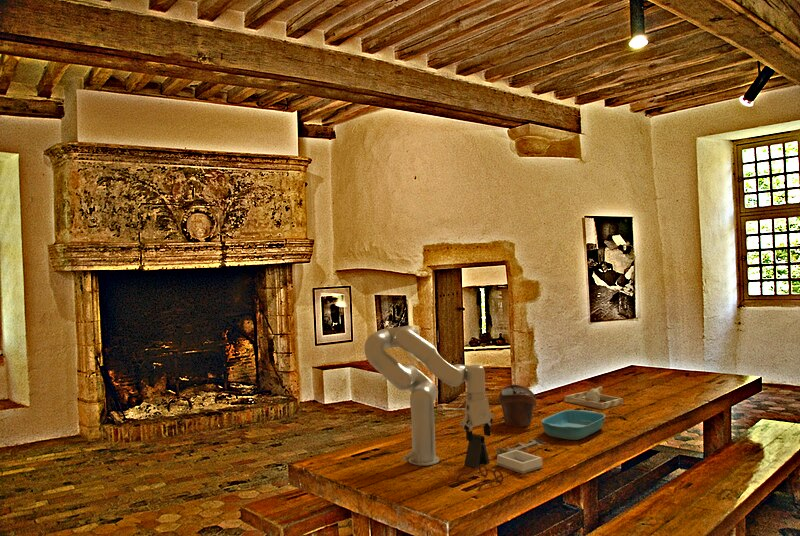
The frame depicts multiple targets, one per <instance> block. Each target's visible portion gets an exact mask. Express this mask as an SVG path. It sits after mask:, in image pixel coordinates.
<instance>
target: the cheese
mask: <svg viewBox="0 0 800 536" xmlns="http://www.w3.org/2000/svg"><path fill="white" fill-rule="evenodd" d="M603 389H604V387H602V385H601V386H600V385H599V387H596V388H594V387H593V388H591V389H589V390H588V391H587V393H586V395H585V396H583V397H581V398H580V399H584V400H589V401H594V402H598V403H600V401H601V400H600V394H601V392H602V391H603Z"/></svg>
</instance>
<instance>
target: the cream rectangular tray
mask: <svg viewBox="0 0 800 536" xmlns="http://www.w3.org/2000/svg"><path fill="white" fill-rule="evenodd" d="M496 462H497V464H496V465H497V466H499V467H501V468H505V469H508V470H510V471H513V472H517V473H519V474H522V475H523V474H526V473H530V472H533V471H536V470H540V469H542V468H543V457H541V456H537V455H534V454H531V453H528V452H526V451H518V450H514V451H511V452H507V453H503V454H500V455H498V454H497V455H496Z"/></svg>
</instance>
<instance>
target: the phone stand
mask: <svg viewBox="0 0 800 536" xmlns="http://www.w3.org/2000/svg"><path fill="white" fill-rule="evenodd" d="M485 440H486V439H485V435H479V434H476V433H475V434H474V433H473V441H469V440H468V444H467V448H466V449H467V450H466V455H465V460H464V466H466V467H470V468H473V469H475V468H477V467H479V465H480V464H483V465H484V466H486V465H488V464H490V459H489V454H488V450H487V447H486V443H485V442H486V441H485ZM481 467H482V466H480V468H481Z"/></svg>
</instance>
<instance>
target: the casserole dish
mask: <svg viewBox="0 0 800 536" xmlns="http://www.w3.org/2000/svg"><path fill="white" fill-rule="evenodd" d="M605 418H606V414H605V413H601V412H597V411H593V410H585V409H579V410H578V409H566V410H562V411H559V412H556V413H554V414H552V415H550V416H547V417H545V418H542V419H541V425H542V426H543V430H544V432H545V434H546V435H548V436H549V437H554V438H559V439H563V440H564V439H565V440H571V441H577V440H578V441H579V440H582V439H585V438H586V437H588V436H590V435H592V434H594V433H596V432H597V431H600V430H601V429H602V427H603V424H604V423H605V422H604V421H605Z"/></svg>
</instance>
